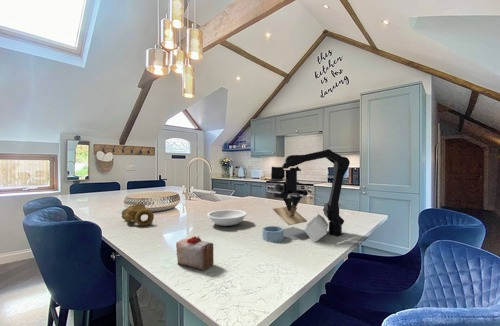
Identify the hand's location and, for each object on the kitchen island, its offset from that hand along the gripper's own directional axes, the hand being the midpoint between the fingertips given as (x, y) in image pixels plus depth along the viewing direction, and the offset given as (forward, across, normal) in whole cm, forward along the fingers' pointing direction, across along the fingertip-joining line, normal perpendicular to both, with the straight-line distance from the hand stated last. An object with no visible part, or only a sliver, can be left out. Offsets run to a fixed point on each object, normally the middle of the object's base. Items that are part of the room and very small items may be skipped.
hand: (291, 210), depth 114 cm
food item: (+13, +53, +3) cm, 54 cm away
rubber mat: (+12, -1, 0) cm, 12 cm away
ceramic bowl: (+12, +13, 0) cm, 18 cm away
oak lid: (+3, 0, -1) cm, 3 cm away
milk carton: (+7, +1, +15) cm, 17 cm away
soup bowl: (+13, +17, -36) cm, 42 cm away
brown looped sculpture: (+13, +60, -74) cm, 96 cm away
